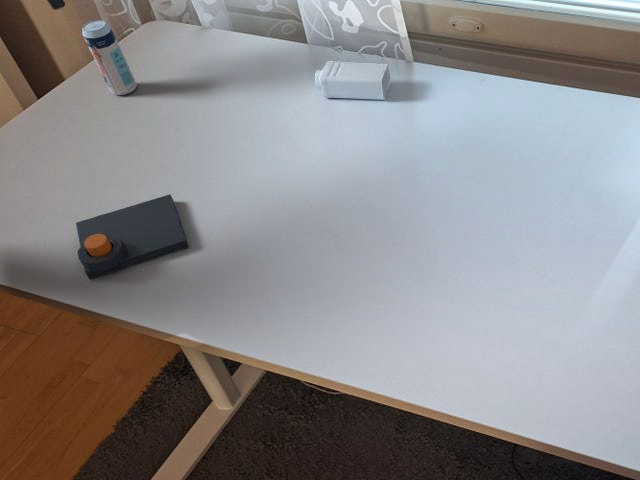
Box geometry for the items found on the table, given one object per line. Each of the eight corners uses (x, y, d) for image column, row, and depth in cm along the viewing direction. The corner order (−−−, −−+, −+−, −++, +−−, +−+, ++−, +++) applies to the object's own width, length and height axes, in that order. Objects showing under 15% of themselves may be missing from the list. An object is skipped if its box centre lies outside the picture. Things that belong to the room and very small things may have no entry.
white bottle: (324, 80, 126) (319, 58, 123) (391, 82, 125) (388, 60, 122) (314, 99, 122) (309, 77, 119) (384, 102, 121) (380, 80, 118)
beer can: (113, 84, 128) (82, 20, 118) (139, 81, 128) (110, 17, 119) (109, 98, 125) (77, 33, 115) (136, 95, 125) (105, 30, 116)
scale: (90, 283, 95) (79, 268, 92) (80, 229, 102) (70, 214, 100) (190, 251, 98) (183, 235, 96) (173, 201, 106) (166, 185, 103)
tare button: (91, 260, 94) (85, 250, 93) (88, 247, 96) (82, 237, 94) (113, 253, 95) (107, 243, 93) (110, 240, 96) (104, 231, 95)
